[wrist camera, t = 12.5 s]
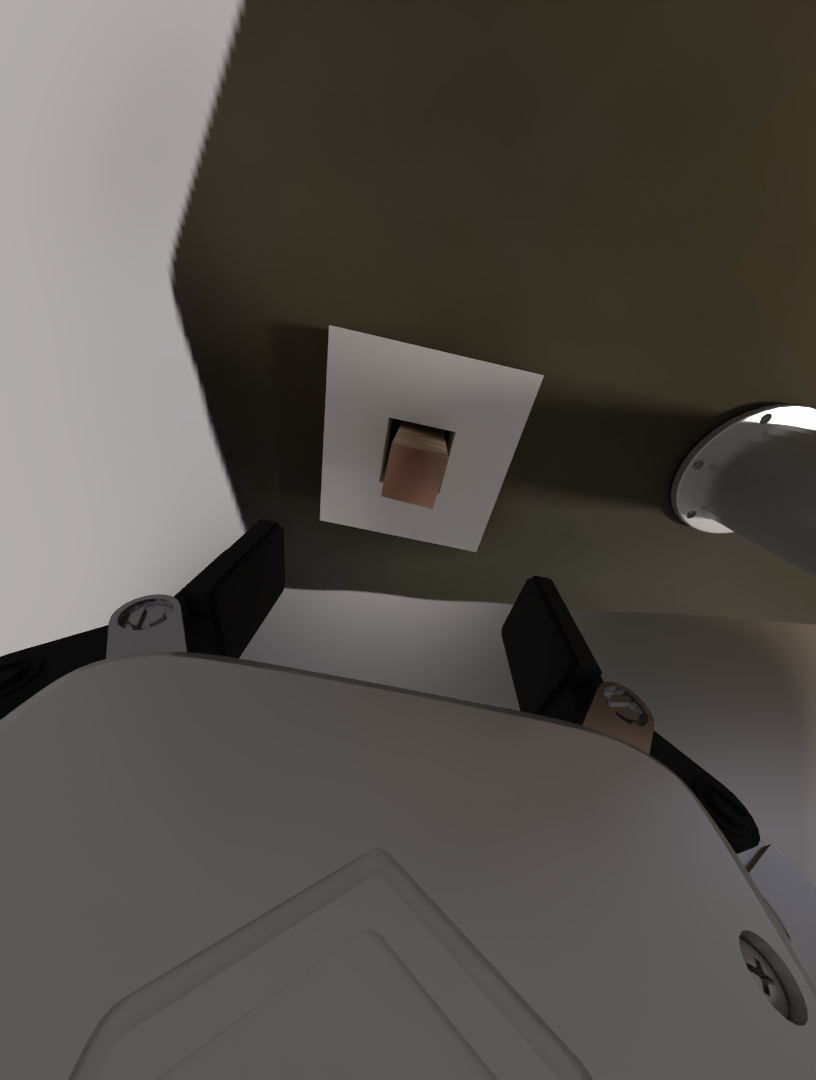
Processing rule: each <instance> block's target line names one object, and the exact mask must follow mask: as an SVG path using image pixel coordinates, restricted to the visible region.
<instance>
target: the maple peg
mask: <svg viewBox="0 0 816 1080" xmlns="http://www.w3.org/2000/svg"><path fill="white" fill-rule="evenodd" d="M448 459H449V456H448V453H447V447H446V442H445V437H444V431H443V429H439V428H435V427H430V426H426V425H421V424H417V423H412V422H408V421H402V423H401V425H400V427H399V430H398V432H397V434H396V436H395V438H394V440H393V441H392V445H391V449H390V454H389V459H388V464H387V469H386V473H385V478H384V483H383V488H382V492H381V496H382V497H386V498H390V499H394V500H398V501H402V502H406V503H410V504H414V505H418V506H422V507H426V508H430V509H433V506H434V503H435V500H436V497H437V494H438V490H439V487H440V484H441V481H442V478H443V475H444V471H445V468H446V465H447V462H448Z"/></svg>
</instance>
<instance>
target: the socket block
mask: <svg viewBox="0 0 816 1080" xmlns="http://www.w3.org/2000/svg"><path fill="white" fill-rule="evenodd" d="M543 377H544V375H540V374H536V373H531V372H527V371H523V370H519V369H514V368H510V367H506V366H502V365H497V364H493V363H489V362H485V361H480V360H476V359H472V358H467V357H463V356H459V355H455V354H450V353H446V352H442V351H438V350H433V349H429V348H425V347H421V346H416V345H412V344H408V343H404V342H399V341H395V340H391V339H387V338H382V337H378V336H374V335H370V334H365V333H361V332H357V331H353V330H348V329H344V328H340V327H336V326H331V325H329V338H328V359H327V379H326V400H325V421H324V442H323V462H322V483H321V504H320V520H322V521H327V522H332V523H336V524H341V525H346V526H351V527H356V528H361V529H366V530H371V531H376V532H380V533H385V534H390V535H395V536H400V537H405V538H410V539H415V540H420V541H425V542H429V543H434V544H439V545H444V546H449V547H454V548H459V549H464V550H469V551H473V552H476V551H477V549H478V546H479V544H480V541H481V538H482V536H483V533H484V531H485V528H486V525H487V523H488V520H489V518H490V515H491V512H492V510H493V507H494V504H495V502H496V499H497V497H498V494H499V491H500V489H501V486H502V484H503V481H504V478H505V476H506V473H507V471H508V468H509V465H510V463H511V460H512V458H513V455H514V452H515V450H516V447H517V445H518V442H519V439H520V437H521V434H522V431H523V429H524V426H525V424H526V421H527V418H528V416H529V413H530V411H531V408H532V405H533V403H534V400H535V398H536V395H537V392H538V390H539V387H540V385H541V382H542V379H543ZM393 419H399V420H403V421H408V422H412V423H417V424H421V425H426V426H430V427H435V428H439V429H444V430H448V431H450V432H449V436H448V440H447V443H446V447H447V453H448V456H449V459H448V462H447V465H446V468H445V471H444V475H443V478H442V481H441V484H440V487H439V490H438V494H437V497H436V500H435V503H434V506H433V509H430V508H426V507H422V506H418V505H414V504H410V503H406V502H402V501H398V500H394V499H390V498H386V497H382V496H381V492H382V488H383V483H384V478H385V473H386V469H387V466H386V462H387V456H388V450H389V444H390V438H391V432H392V425H393Z"/></svg>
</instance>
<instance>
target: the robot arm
mask: <svg viewBox="0 0 816 1080" xmlns="http://www.w3.org/2000/svg"><path fill="white" fill-rule="evenodd" d="M671 502H672V507H673V509H674V511H675V513H676V515H677V516H678V517H679V518H680V519H681V520H682V521H683V522H685V523H686V524H688V525H689V526H691V527H693V528H695V529H697V530H699V531H703V532H708V533H730V532H735V533H737V534H739V535H741V536H743V537H744V538H746V539H748V540H750V541H752V542H753V543H755V544H757V545H759V546H760V547H762V548H764V549H766V550H768V551H769V552H771V553H773V554H775V555H777V556H778V557H780V558H782V559H784V560H786V561H787V562H789V563H791V564H793V565H794V566H796V567H798V568H800V569H802V570H803V571H805V572H807V573H809V574H811V575H812V576H814V577H816V409H814V408H811V407H808V406H801V405H794V404H777V405H770V406H764V407H760V408H757V409H754V410H751V411H748V412H745V413H743V414H741V415H739V416H737V417H735V418H733V419H730V420H729V421H727V422H726V423H724V424H722V425H721V426H719V427H718V428H716V429H715V430H713V431H712V432H711V433H710V434H708V435H707V436H706V437H705V438H704V439H702V440H701V441H700V442H699V443H698V444H697V445H696V446H695V447H694V448H693V449H692V451H691V452H690V453H689V454H688V456H687V457H686V458H685V460H684V461H683V462H682V464H681V466H680V468H679V470H678V471H677V473H676V475H675V478H674V481H673V484H672V490H671ZM284 586H285V559H284V529H283V527H280V526H279V523H278V522H274V521H269V520H264V519H261V520H259V521H258V522H257V523H256V524H255V525H254V526H253V527H252V528H250V529H249V530H248V531H247V532H246V533H245V534H244V535H243V536H242V537H241V538H240V539H238V540H237V541H236V542H235V543H234V544H233V545H232V546H231V547H230V548H229V549H227V550H226V551H224V552H223V553H222V554H221V555H219V556H218V557H217V558H216V559H215V560H214V561H213V562H212V563H211V564H210V565H208V566H207V567H206V568H205V569H204V570H203V571H202V572H201V573H200V574H198V575H197V576H196V577H195V578H194V579H193V580H192V581H191V582H190V583H188V584H187V585H186V586H185V587H184V588H183V589H182V590H181V591H180V592H179V593H177V594H176V595H175V596H174V597H172V596H168V595H149V596H144V597H140V598H137V599H134V600H132V601H130V602H128V603H126V604H124V605H123V606H122V607H120V608H119V609H117V611H115V612H114V614H113V615H112V616H111V618H110V621H109V625H107V626H104V627H100V628H97V629H93V630H90V631H87V632H83V633H79V634H76V635H72V636H69V637H66V638H62V639H59V640H55V641H52V642H48V643H45V644H41V645H38V646H34V647H31V648H27V649H24V650H21V651H17V652H14V653H10V654H7V655H4V656H1V657H0V1080H816V888H815V887H814V886H813V885H812V884H811V883H810V882H809V881H808V880H807V879H806V878H805V877H804V876H803V875H802V874H801V873H800V872H799V871H798V870H797V869H796V868H795V867H794V866H793V865H792V864H791V863H790V862H789V861H788V860H787V859H786V858H785V857H784V856H783V855H782V854H781V853H780V852H779V851H778V850H777V849H776V848H775V847H774V846H773V845H772V844H770V845H767V846H765V845H764V844H763V843H762V842H761V840H760V835H759V831H758V828H757V826H756V824H755V822H754V820H753V818H752V816H751V815H750V813H749V812H748V810H747V809H746V808H745V806H744V805H743V804H742V803H741V802H740V801H739V800H738V798H737V797H736V796H735V795H734V794H733V793H732V792H730V791H729V790H728V789H727V788H726V787H725V786H724V785H723V784H721V783H720V782H719V781H718V780H716V779H715V778H714V777H712V776H711V775H710V774H709V773H707V772H706V771H705V770H704V769H702V768H701V767H700V766H698V765H697V764H696V763H695V762H693V761H692V760H691V759H689V758H688V757H687V756H686V755H684V754H683V753H682V752H680V751H679V750H678V749H677V748H676V747H674V746H673V745H672V744H670V743H669V742H668V741H667V740H665V739H664V738H663V737H661V736H660V735H659V734H658V733H656V732H655V731H654V719H653V716H652V714H651V712H650V710H649V709H648V707H647V706H646V704H645V703H644V702H643V701H642V700H641V699H640V698H639V697H638V696H637V695H636V694H634V693H633V692H632V691H631V690H629V689H627V688H626V687H624V686H622V685H620V684H617V683H615V682H608V681H607V682H604V681H603V679H602V677H601V676H600V675H601V674H602V671H601V669H600V668H599V666H598V664H597V662H596V660H595V658H594V657H593V655H592V653H591V651H590V649H589V648H588V646H587V644H586V642H585V640H584V638H583V636H582V635H581V633H580V631H579V629H578V627H577V626H576V624H575V622H574V620H573V618H572V616H571V614H570V613H569V611H568V609H567V607H566V605H565V603H564V601H563V600H562V598H561V596H560V594H559V592H558V590H557V589H556V587H555V585H554V583H553V581H552V580H551V579H549V578H544V577H539V576H534V577H532V579H531V578H529V579H528V580H527V581H526V583H525V585H524V587H523V588H522V590H521V592H520V594H519V596H518V598H517V600H516V602H515V604H514V606H513V608H512V609H511V611H510V613H509V615H508V617H507V619H506V621H505V623H504V625H503V627H502V639H503V643H504V647H505V650H506V655H507V659H508V663H509V667H510V671H511V674H512V678H513V683H514V686H515V691H516V695H517V698H518V703H519V707H520V711H517V710H512V709H507V708H502V707H497V706H492V705H487V704H482V703H476V702H471V701H466V700H461V699H456V698H451V697H446V696H440V695H435V694H430V693H425V692H419V691H414V690H409V689H404V688H398V687H393V686H387V685H382V684H377V683H372V682H366V681H361V680H355V679H350V678H345V677H339V676H334V675H329V674H323V673H317V672H312V671H307V670H301V669H296V668H290V667H284V666H279V665H274V664H267V663H262V662H256V661H250V660H243V659H239V657H240V656H241V654H242V653H243V651H244V650H245V648H246V647H247V645H248V644H249V642H250V641H251V639H252V638H253V636H254V635H255V633H256V631H257V630H258V628H259V627H260V625H261V624H262V622H263V621H264V619H265V618H266V616H267V615H268V613H269V612H270V610H271V609H272V607H273V605H274V604H275V603H276V601H277V599H278V598H279V596H280V595H281V593H282V592H283V590H284Z"/></svg>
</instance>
